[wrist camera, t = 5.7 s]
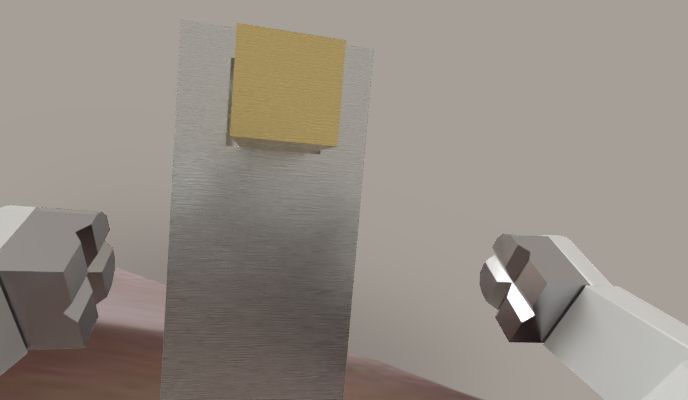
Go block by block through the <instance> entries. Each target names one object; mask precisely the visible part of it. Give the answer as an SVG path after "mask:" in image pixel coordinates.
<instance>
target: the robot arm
mask: <svg viewBox="0 0 688 400" xmlns="http://www.w3.org/2000/svg"><path fill="white" fill-rule="evenodd" d="M109 230H110V228H109V224H108V219H107V215H105V214H104V213H103V212H98V211H85V210H70V209H58V208H43V207H41V208H38V207H26V206H9V205H8V206H5V207H2V208H0V375H2V374H3V373H4V372H5V371H7V370H8V369H9V368H10V367H11V366H13V365H14V364H15V363H16V362H17V361H19V360H20V359H21V358H22V357H23V356H25V355H26V354H27V353H28V352H27V350H43V349H69V348H85V346H86V343H87V341H88V339H89V337H90V334H91V332H92V330H93V327H94V325H95V323H96V321H97V318H98V313H97V308H96V304H97V303H99V302H100V301H102V300H103V299H105V298H106V297H107V295H108V293H109V290H110V288H111V285H112V281H113V276H114V271H115V257H114V251H113V248H112V247H111V246H110V245H109V244H108V243H107V242H106V241H105V238H106V236H107V234H108V232H109ZM493 251H494V254H495V255H493V256H492V257H491V258H490V259H488V260H487V261H485V263H484V265H483V267H482V270H481V272H480V287H481V291H482V294H483V296H484V298H485V299H486V301H487V302H488V303H489V304H491V305H492V306H493V307H495V308H496V309H497V312H496V319H497V321H498V323H499V325H500V326H501V328H502V330H503V332H504V334H505V335H506V337H507V339H508V341H509V342H526V343H530V342H531V343H544V344H543V345H544V346H545V347H547V348H548V349H549V350H550V351H551V352H552V353H553V354H554V355H555V356H556V357H557V358H559V359H560V360H561V361H562V362H563V363H564V364H565V365H566V366H567V367H568V368H570V369H571V370H572V371H573V372H574V373H575V374H576V375H577V376H578V377H580V378H581V379H582V380H583V381H584V382H585V383H586V384H587V385H588V386H590V387H591V388H592V389H593V390H594V391H595V392H596V393H597V394H598V395H600V396H601V397H602V398H603V399H604V400H688V326H687V325H685V324H683V323H682V322H680V321H678V320H676V319H675V318H673V317H671V316H669V315H668V314H666V313H664V312H662V311H661V310H659V309H657V308H655V307H654V306H652V305H650V304H648V303H647V302H645V301H643V300H642V299H640V298H638V297H636V296H634V295H633V294H631V293H629V292H628V291H626V290H624V289H622V288H620V287H619V286H612V285H611V284H610V283H609V282H608V280H606V278H605V277H604V276H603V275H602V274H601V273H600V272H599V271H598V270H597V269H596V268H595V266H594V265H593V264H592V263H591V262H590V261H589V260H588V259H587V258H586V257H585V256H584V255H583V253H582V252H581V251H580V250H579V249H578V248H577V247H576V246H575V245H574V244H573V243H572V242H571V241H570V239H568V238H566V237H564V236H558V235H557V236H556V235H542V236H537V235H516V234H502V235H501V236H500V237H498V238H497V240H496V241H495V243H494V245H493Z"/></svg>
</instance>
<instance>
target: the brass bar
mask: <svg viewBox="0 0 688 400" xmlns="http://www.w3.org/2000/svg"><path fill="white" fill-rule="evenodd" d="M345 48H346V40H341V39H334V38H328V37H322V36H315V35H309V34H302V33H296V32H290V31H284V30H278V29H271V28H265V27H259V26H252V25H246V24H239V23H237V30H236V46H235V61H234V77H233V93H232V109H231V124H230V137H231V138H232V139H233V140H234V141H235V142H236V143H237V145H238V146H239V147H244V148H255V149H265V150H276V151H287V152H298V153H310V152H314V151H319V150H324V149H328V148H333V147H337V145H338V133H339V121H340V109H341V97H342V84H343V72H344V60H345Z"/></svg>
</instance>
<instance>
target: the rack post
mask: <svg viewBox="0 0 688 400" xmlns="http://www.w3.org/2000/svg"><path fill="white" fill-rule="evenodd" d="M236 30H237V28H232V27H225V26H219V25H213V24H206V23H199V22H193V21H187V20H181V28H180V46H179V64H178V83H177V101H176V119H175V137H174V156H173V175H172V176H173V177H172V193H171V213H170V230H169V250H168V267H167V286H166V304H165V323H164V342H163V360H162V379H161V397H160V400H343V397H344V386H345V374H346V363H347V351H348V340H349V328H350V317H351V305H352V294H353V282H354V271H355V259H356V248H357V236H358V224H359V212H360V202H361V190H362V178H363V167H364V156H365V144H366V133H367V121H368V109H369V98H370V87H371V75H372V63H373V52H374V50H373V49H367V48H360V47H354V46H347V45H346V48H345V60H344V72H343V84H342V97H341V109H340V121H339V133H338V145H337V147H333V148H328V149H324V150H319V151H314V152H310V153H298V152H287V151H276V150H265V149H255V148H244V147H238V145H237V143H236V142H235V141H234V140H233V139H232V138H231V137H230V124H231V109H232V93H233V77H234V61H235V46H236Z"/></svg>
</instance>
